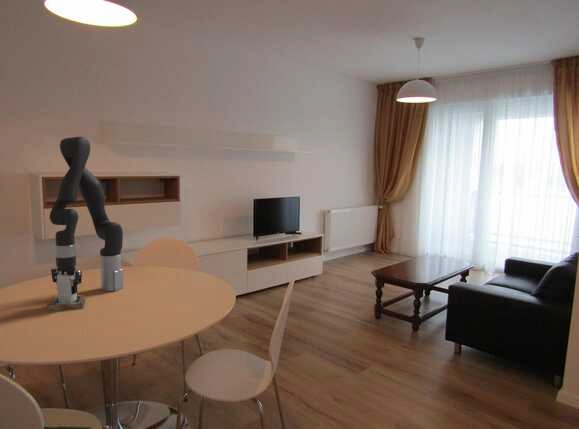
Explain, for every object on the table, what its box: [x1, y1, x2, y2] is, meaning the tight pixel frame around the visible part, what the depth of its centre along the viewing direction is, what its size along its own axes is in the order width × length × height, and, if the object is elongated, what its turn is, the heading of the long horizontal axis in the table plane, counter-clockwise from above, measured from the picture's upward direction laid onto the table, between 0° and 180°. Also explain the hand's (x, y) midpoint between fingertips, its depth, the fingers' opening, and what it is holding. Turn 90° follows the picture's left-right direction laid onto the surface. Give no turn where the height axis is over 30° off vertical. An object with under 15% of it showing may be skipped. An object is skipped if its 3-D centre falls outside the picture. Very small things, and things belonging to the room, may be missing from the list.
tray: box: [48, 294, 86, 313], centre depth 176 cm, size 13×13×2 cm
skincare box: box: [57, 275, 78, 303], centre depth 175 cm, size 6×4×12 cm
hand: (67, 292), depth 176 cm, fingers closed on skincare box, 6 cm apart
